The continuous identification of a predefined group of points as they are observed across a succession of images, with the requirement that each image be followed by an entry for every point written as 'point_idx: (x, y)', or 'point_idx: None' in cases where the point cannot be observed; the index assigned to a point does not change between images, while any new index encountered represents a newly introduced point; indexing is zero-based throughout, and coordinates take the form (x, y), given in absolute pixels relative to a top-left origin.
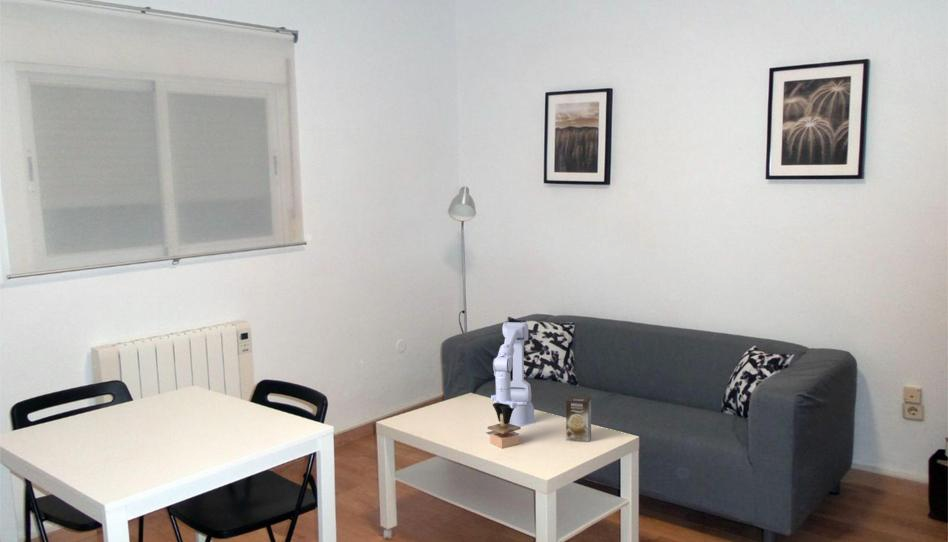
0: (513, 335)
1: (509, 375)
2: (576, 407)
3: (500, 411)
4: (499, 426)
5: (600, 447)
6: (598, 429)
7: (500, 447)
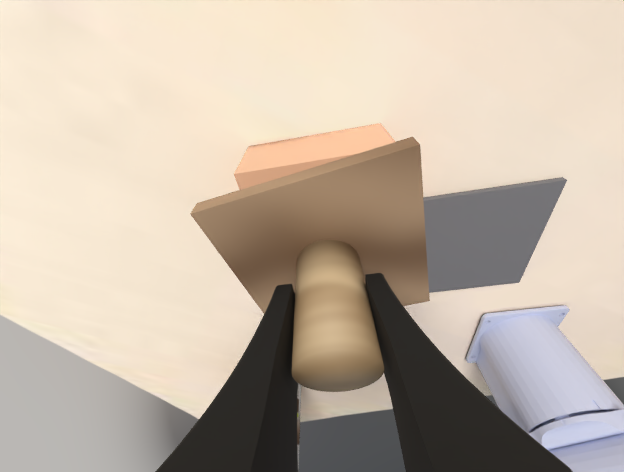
0: None
1: None
2: None
3: (397, 388)
4: (358, 242)
5: (175, 389)
6: (311, 416)
7: (262, 146)
